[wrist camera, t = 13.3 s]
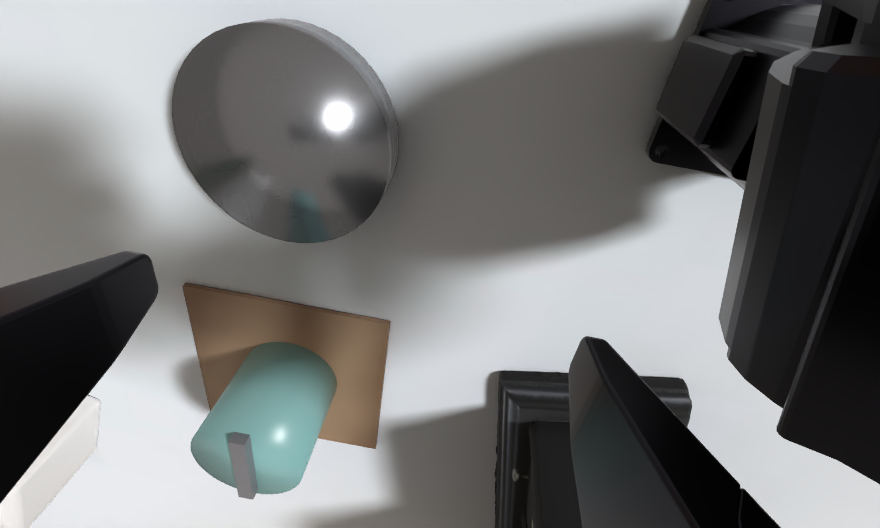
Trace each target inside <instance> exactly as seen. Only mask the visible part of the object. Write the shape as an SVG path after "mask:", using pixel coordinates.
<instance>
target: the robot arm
mask: <svg viewBox="0 0 880 528" xmlns="http://www.w3.org/2000/svg"><path fill="white" fill-rule="evenodd" d="M656 110H657V112H658V114H659V118H658V120H657V123H656V125H655V127H654V130H653V132H652V135H651V137H650V139H649V142H648V144H647V147H646V153H647V155H648V157H649V158H650V159H651V160H652V161H653V162H656V163H660V164H666V165H671V166H677V167H682V168H688V169H693V170H699V171H704V172H709V173H715V174H720V175H726V176H728V177H730V178H731V179H732V180H733V181H734V182H736V183H737V184H738V185H739V186H740V187H741V188H743V189H744V195H743V200H742V205H741V210H740V215H739V219H738V224H737V229H736V234H735V239H734V244H733V249H732V254H731V259H730V264H729V269H728V274H727V279H726V284H725V289H724V294H723V298H722V303H721V308H720V313H719V320H720V324H721V328H722V332H723V335H724V339H725V342H726V344H727V345H728V347H729V348H728V352H727V357H728V360H729V361H730V362H731V363H732V364H733V366H734V367H735V368H736V369H737V370H738V371H739V373H740V374H741V375H742V376H743V377H744V379H746V380H747V381H748V382H749V383H750V384H752V385H753V386H754V387H755V388H757V389H758V390H759V391H760V392H762V393H763V394H764V395H765V396H767V397H768V398H769V399H770V400H772V401H773V402H774V403H776V404H777V405H779V406H780V407H782V408H783V411H782V414H781V417H780V420H779V422H778V425H777V432H778V434H779V435H780V436H782V437H783V438H784V439H787V440H789V441H791V442H794V443H796V444H799V445H801V446H804V447H806V448H809V449H811V450H814V451H816V452H819V453H821V454H824V455H826V456H829V457H831V458H833V459H836V460H838V461H840V462H842V463H844V464H845V465H847V466H849V467H851V468H852V469H854V470H856V471H858V472H859V473H861V474H863V475H865V476H866V477H868V478H870V479H872V480H874V481H875V482H877V483H879V484H880V0H728V1H725V0H708V2H707V4H706V6H705V9H704V11H703V14H702V16H701V18H700V21H699V23H698V25H697V28H696V30H695V32H694V35H692V36H690V37H689V38H687V39H686V40H684V42H683V44H682V47H681V49H680V51H679V54H678V56H677V59H676V61H675V64H674V66H673V68H672V71H671V73H670V76H669V78H668V80H667V83H666V85H665V88H664V90H663V93H662V95H661V97H660V100H659V102H658V105H657V107H656ZM660 145H665V150H664V151H663V152H662V153H660V154H655V150H656V149H657V147H659V146H660ZM157 294H158V283H157V280H156V276H155V272H154V268H153V265H152V261H151V259H150V258H149V257H148V256H147V255H145V254H141V253H135V252H130V251H125V252H121V253H117V254H114V255H111V256H107V257H104V258H101V259H97V260H94V261H90V262H87V263H84V264H80V265H77V266H73V267H70V268H67V269H63V270H60V271H56V272H53V273H50V274H46V275H43V276H39V277H36V278H33V279H29V280H26V281H22V282H19V283H16V284H12V285H9V286H5V287H2V288H0V504H1V502H2V501H3V500H4V499H5V497H6V496H7V495H8V494H9V492H10V491H11V490H12V489H13V487H14V486H15V485H16V484H17V482H18V481H19V480H20V479H21V477H22V476H23V475H24V474H25V472H26V471H27V470H28V469H29V467H30V466H31V465H32V464H33V462H34V461H35V460H36V459H37V457H38V456H39V455H40V454H41V452H42V451H43V450H44V449H45V447H46V446H47V445H48V444H49V442H50V441H51V440H52V439H53V438H54V436H55V435H56V434H57V433H58V431H59V430H60V429H61V428H62V426H63V425H64V424H65V423H66V421H67V420H68V419H69V418H70V416H71V415H72V414H73V413H74V411H75V410H76V409H77V408H78V406H79V405H80V404H81V403H82V401H83V400H84V399H85V398H86V396H87V395H88V394H89V393H90V391H91V390H92V389H93V388H94V386H95V385H96V384H97V383H98V381H99V380H100V379H101V378H102V376H103V375H104V374H105V373H106V372H107V370H108V369H109V368H110V366H111V365H112V364H113V362H114V361H115V360H116V359H117V357H118V356H119V354H120V353H121V351H122V350H123V348H124V347H125V345H126V344H127V342H128V341H129V339H130V338H131V336H132V334H133V333H134V331H135V330H136V328H137V327H138V325H139V324H140V322H141V320H142V319H143V317H144V316H145V314H146V313H147V311H148V310H149V308H150V307H151V305H152V303H153V302H154V300H155V299H156V297H157ZM569 404H570V437H571V450H572V458H573V465H574V472H575V478H576V485H577V492H578V499H579V506H580V513H581V520H582V527H583V528H781V527H780V526H779V525H778V524H777V523H776V522H775V521H774V520H773V519H772V518H771V517H770V516H769V515H768V514H767V513H766V512H765V511H764V510H763V508H762V507H761V506H760V505H759V504H758V503H757V502H756V501H755V500H754V499H753V498H752V497H751V496H750V495H749V493H748V492H747V491H746V490H745V489H740V484H739V483H738V482H737V481H736V480H735V479H734V478H733V477H732V475H731V474H730V473H729V472H728V471H727V470H726V469H725V468H724V467H723V466H722V465H721V464H720V463H719V461H718V460H717V459H716V458H715V457H714V456H713V455H712V454H711V453H710V452H709V451H708V450H707V449H706V448H705V446H704V445H703V444H702V443H701V442H700V441H699V440H698V439H697V438H696V437H695V436H694V435H693V434H692V433H691V431H690V430H689V429H688V428H687V427H686V426H685V425H684V424H683V423H682V422H681V421H680V420H679V419H678V417H677V416H676V415H675V414H674V413H673V412H672V411H671V410H670V409H669V408H668V407H667V406H666V405H665V404H664V402H663V401H662V400H661V399H660V398H659V397H658V396H657V395H656V394H655V393H654V392H653V391H652V390H651V389H650V387H649V386H648V385H647V384H646V383H645V382H644V381H643V380H642V379H641V378H640V377H639V376H638V375H637V373H636V372H635V371H634V370H633V369H632V368H631V367H630V366H629V365H628V364H627V363H626V362H625V361H624V360H623V358H622V357H621V356H620V355H619V354H618V353H617V352H616V351H615V350H614V349H613V348H612V347H611V346H610V345H609V343H608V342H606V341H605V340H603V339H599V338H594V337H589V336H586V337H584V338H583V339H582V340H581V342H580V344H579V346H578V348H577V351H576V353H575V355H574V357H573V360H572V362H571V364H570V368H569Z"/></svg>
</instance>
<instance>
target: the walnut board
mask: <svg viewBox="0 0 880 528" xmlns="http://www.w3.org/2000/svg"><path fill="white" fill-rule="evenodd" d="M183 291H184V295H185V300H186V304H187V308H188V313H189V317H190V322H191V326H192V331H193V335H194V340H195V344H196V349H197V353H198V358H199V362H200V367H201V371H202V376H203V380H204V385H205V389H206V394H207V398H208V403H209V407H210V411H211V410H212V408H213V407H214V405H215V404H216V402H217V401H218V399H219V398H220V396H221V395H222V393H223V392H224V390H225V389H226V387H227V386H228V384H229V383H230V381H231V380H232V378H233V377H234V375H235V374H236V372H237V371H238V369H239V368H240V366H241V365H242V363H243V362H244V360H245V359H246V357H247V356H248V354H249V353H250V352H251V351H252V349H254V348H255V347H257V346H259V345H261V344H264V343H268V342H287V343H292V344H296V345H299V346H302V347H305V348H307V349H309V350H311V351H313V352H314V353H316V354H317V355H319V356H320V357H321V358H323V359H324V360H325V361H326V362H327V363H328V364H329V366H330V367H331V368H332V370H333V372H334V374H335V376H336V380H337V389H336V392H335V395H334V397H333V400H332V403H331V405H330V408H329V410H328V413H327V415H326V418H325V420H324V423H323V425H322V428H321V431H320V433H319V436H318V438H320V439H326V440H331V441H336V442H341V443H347V444H352V445H357V446H362V447H368V448H373V449H375V448H376V443H377V434H378V426H379V417H380V408H381V399H382V390H383V382H384V373H385V364H386V355H387V347H388V338H389V329H390V321H386V320H381V319H376V318H370V317H365V316H360V315H354V314H349V313H344V312H338V311H333V310H328V309H322V308H317V307H312V306H306V305H301V304H296V303H290V302H285V301H280V300H274V299H269V298H264V297H258V296H253V295H248V294H242V293H237V292H232V291H226V290H221V289H216V288H210V287H205V286H200V285H194V284H189V283H185V284H184V285H183Z"/></svg>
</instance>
